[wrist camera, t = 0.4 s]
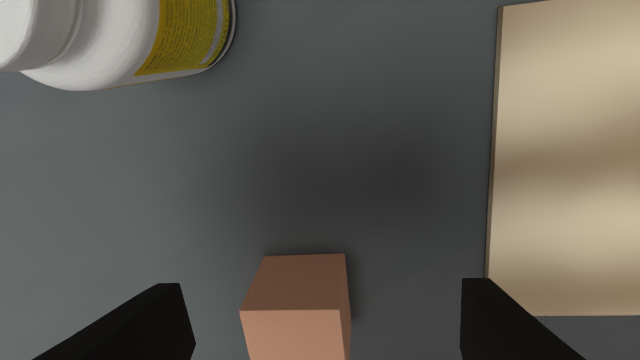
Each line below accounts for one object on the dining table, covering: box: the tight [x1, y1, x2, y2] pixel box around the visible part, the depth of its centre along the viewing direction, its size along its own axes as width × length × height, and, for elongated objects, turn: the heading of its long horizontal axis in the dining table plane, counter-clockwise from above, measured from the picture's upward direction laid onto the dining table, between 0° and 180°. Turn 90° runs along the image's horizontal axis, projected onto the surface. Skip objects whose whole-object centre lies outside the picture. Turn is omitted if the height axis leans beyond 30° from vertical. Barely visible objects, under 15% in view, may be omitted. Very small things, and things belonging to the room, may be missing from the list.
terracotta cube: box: [239, 253, 351, 360], centre depth 19 cm, size 4×4×4 cm
